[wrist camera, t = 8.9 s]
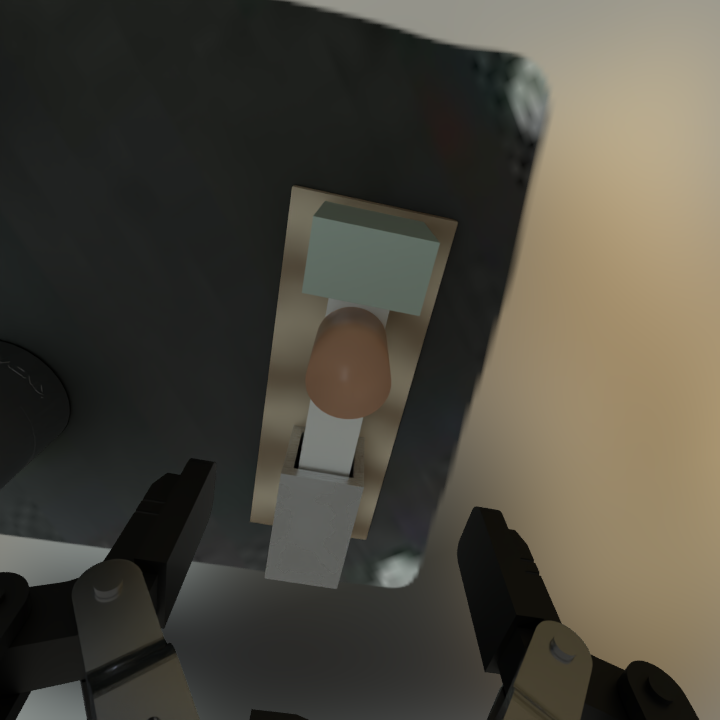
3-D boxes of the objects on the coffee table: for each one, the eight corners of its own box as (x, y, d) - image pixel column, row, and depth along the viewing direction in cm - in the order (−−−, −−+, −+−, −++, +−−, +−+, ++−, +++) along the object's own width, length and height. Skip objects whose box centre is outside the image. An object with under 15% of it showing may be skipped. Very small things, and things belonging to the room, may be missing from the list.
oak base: (365, 530, 39) (365, 539, 38) (252, 512, 38) (250, 521, 37) (455, 219, 27) (457, 222, 26) (294, 185, 26) (292, 186, 25)
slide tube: (350, 464, 33) (345, 559, 25) (297, 455, 33) (276, 548, 25) (404, 239, 26) (420, 277, 18) (337, 225, 25) (325, 258, 18)
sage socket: (408, 281, 28) (419, 316, 22) (315, 262, 27) (301, 292, 22) (423, 222, 26) (439, 242, 20) (324, 200, 26) (313, 215, 20)
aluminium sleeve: (340, 531, 37) (336, 588, 33) (277, 521, 37) (264, 578, 32) (364, 437, 33) (364, 487, 28) (293, 425, 33) (280, 473, 28)
